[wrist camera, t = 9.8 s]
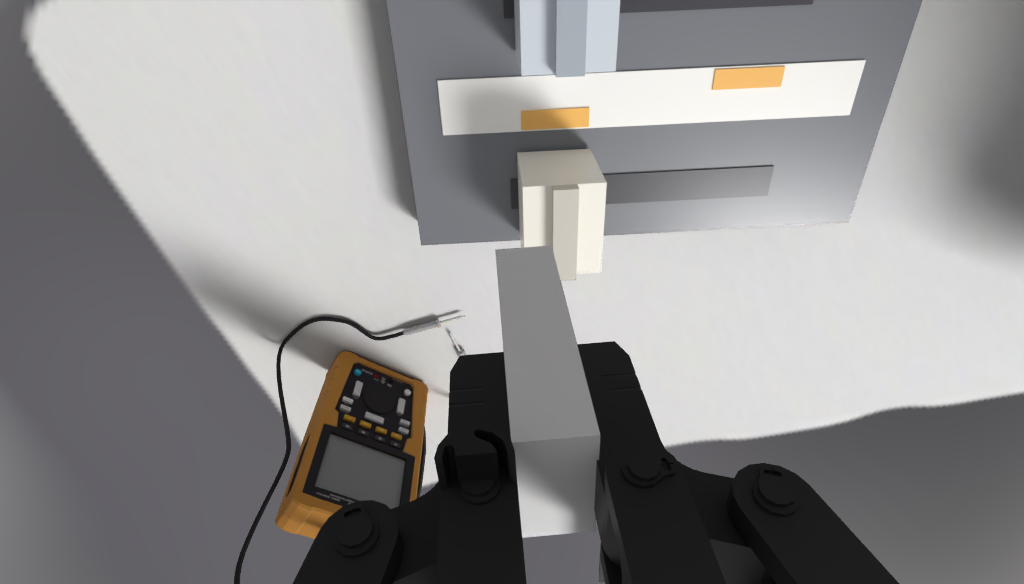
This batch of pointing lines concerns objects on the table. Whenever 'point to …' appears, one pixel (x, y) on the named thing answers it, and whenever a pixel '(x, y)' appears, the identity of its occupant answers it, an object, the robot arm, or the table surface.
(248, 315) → the table surface
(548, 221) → the cream tab
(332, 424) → the multimeter
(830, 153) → the switch board
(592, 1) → the cube with side tab
